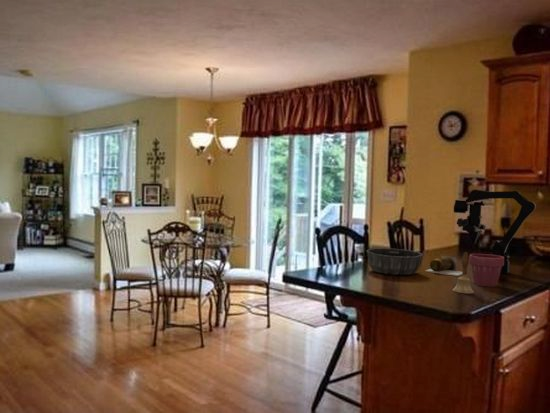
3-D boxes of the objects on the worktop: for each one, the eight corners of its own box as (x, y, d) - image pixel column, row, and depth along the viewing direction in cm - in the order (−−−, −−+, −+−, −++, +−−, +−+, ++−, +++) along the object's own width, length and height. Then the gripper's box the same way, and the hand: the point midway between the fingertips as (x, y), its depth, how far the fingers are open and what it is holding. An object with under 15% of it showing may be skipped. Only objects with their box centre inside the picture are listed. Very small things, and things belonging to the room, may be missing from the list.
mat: (465, 273, 258) (465, 272, 258) (457, 276, 249) (457, 274, 249) (433, 269, 267) (433, 267, 267) (425, 271, 259) (425, 270, 259)
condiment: (441, 255, 267) (428, 257, 259) (456, 257, 260) (444, 260, 252) (440, 269, 267) (427, 272, 259) (456, 272, 261) (443, 275, 253)
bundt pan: (423, 279, 238) (424, 257, 237) (364, 275, 243) (365, 253, 243) (419, 270, 264) (420, 250, 263) (366, 266, 269) (367, 247, 269)
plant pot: (474, 280, 240) (476, 252, 239) (506, 285, 231) (508, 256, 231) (463, 284, 229) (464, 255, 228) (496, 289, 220) (498, 259, 220)
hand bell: (469, 289, 217) (471, 251, 217) (477, 294, 209) (479, 254, 208) (449, 289, 217) (451, 250, 216) (456, 293, 209) (459, 253, 208)
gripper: (465, 212, 283) (463, 241, 284) (453, 213, 268) (451, 243, 269) (486, 213, 276) (484, 243, 277) (475, 214, 261) (473, 246, 262)
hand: (473, 244), depth 271 cm, fingers closed
